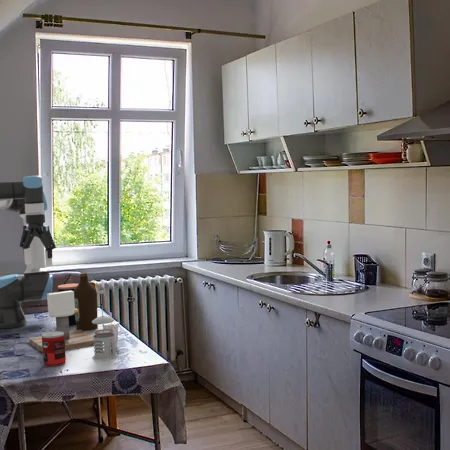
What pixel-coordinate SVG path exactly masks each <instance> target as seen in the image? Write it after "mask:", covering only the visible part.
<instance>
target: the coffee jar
mask: <svg viewBox="0 0 450 450" xmlns="http://www.w3.org/2000/svg"><path fill="white" fill-rule="evenodd" d="M78 284H79V283H66V284H63V283H62V284H60V285H57V289H58V291H57V292H64V291H74V289H75V288H76V287H77V285H78ZM68 318H69V327H73V326H76V320H75V314H73V315H70V316H68Z"/></svg>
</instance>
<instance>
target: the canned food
mask: <svg viewBox="0 0 450 450" xmlns="http://www.w3.org/2000/svg"><path fill="white" fill-rule="evenodd" d="M41 336H42V349H43V352H42V359H43V360H42V361H43V362H42V363H43V365H44V366H45V367H58V366H62V365H65V364H66V361H67V359H66V358H67V356H66V355H67V353H66V350H65V337H64V332H60V331H57V330H55V331H48V332H44V333H42V334H41Z"/></svg>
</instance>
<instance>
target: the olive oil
mask: <svg viewBox="0 0 450 450" xmlns="http://www.w3.org/2000/svg"><path fill="white" fill-rule="evenodd" d="M88 276H89V275H88V272H81V273H79V279H80V282H79V283H77V284H78V285H77V287H76V288H75V289H74V302H75V309H78V312H76V313H75V320H76V325H75V329H76V330H82V331H84V332H87V331H93V330H96V329H97V330H98V327H99V324H93V323H92V321H93V320H94V319H96V318H97V317H98V292H97V291H98V290H97V289H96V287H95V286H94V285H93V284H91V282H90V281H89V277H88Z"/></svg>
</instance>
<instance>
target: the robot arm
mask: <svg viewBox="0 0 450 450" xmlns="http://www.w3.org/2000/svg"><path fill="white" fill-rule="evenodd" d="M47 203H48V202H47V198H46V193H45V190H44V182H43V176H41V175H28V176H23V179H22V180H13V181H0V211H2V212H7V213H19V215H18V216H19V217H20V218H21V219H22V220H23V222H22V223H23V225H22V234H21V238H20V242H19V248H21V249H22V250H23V257H24V265H25V266H26V269H25V271H24V272H23V276H20V275H19V274H17V273H15V274H8V275H4V276H1V277H0V329H1V330H3V329H2V328H7V329H14V328H19V327H22V326H25V325H26V324H27V318H26V316H25V313H24V311H23V309H22V302H32V301H43V300H47V294H49V293H53V283H54V282H53V274H52V273H50V270H49V269H48V268H47V267H53V250H54V249H56V243H55V241H54V238H53V235H52V233H51V231H50V226H49V225H44V223H46V215H45V214H46V213H45V212H46V211H47V210H48V204H47Z"/></svg>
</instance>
